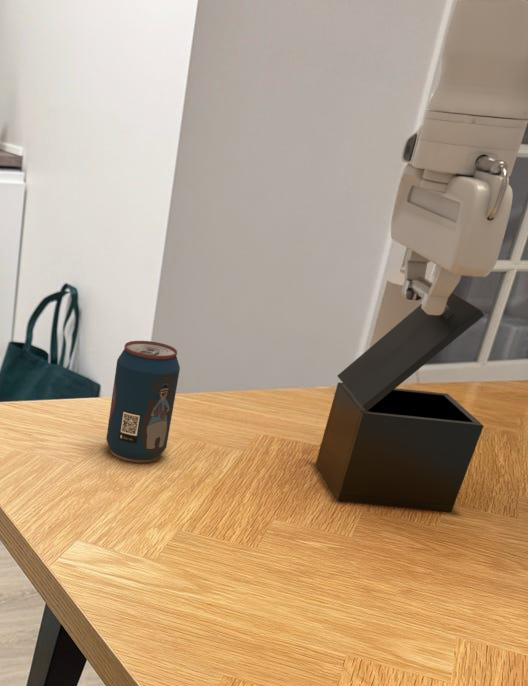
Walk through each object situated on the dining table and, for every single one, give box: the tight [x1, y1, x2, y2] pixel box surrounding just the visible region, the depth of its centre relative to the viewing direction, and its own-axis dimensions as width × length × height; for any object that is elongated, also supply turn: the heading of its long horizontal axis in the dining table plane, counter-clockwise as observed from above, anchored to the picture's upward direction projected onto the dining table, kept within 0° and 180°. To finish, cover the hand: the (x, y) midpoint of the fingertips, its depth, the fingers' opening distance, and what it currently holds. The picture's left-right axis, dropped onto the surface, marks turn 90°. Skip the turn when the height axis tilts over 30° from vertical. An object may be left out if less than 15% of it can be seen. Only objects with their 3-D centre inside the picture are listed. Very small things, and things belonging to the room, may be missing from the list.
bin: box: [315, 381, 484, 513], centre depth 98 cm, size 13×11×10 cm
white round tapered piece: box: [368, 264, 423, 349], centre depth 121 cm, size 5×5×25 cm
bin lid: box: [337, 277, 485, 411], centre depth 92 cm, size 13×11×5 cm
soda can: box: [106, 340, 181, 463], centre depth 99 cm, size 7×7×12 cm
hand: (420, 305), depth 90 cm, fingers closed on bin lid, 5 cm apart
